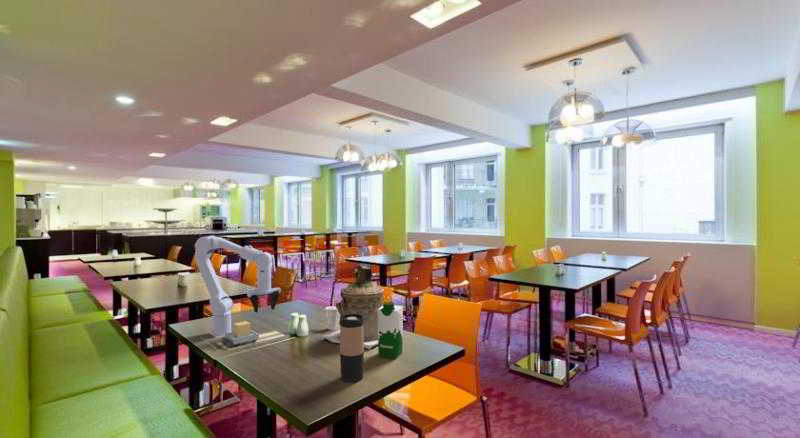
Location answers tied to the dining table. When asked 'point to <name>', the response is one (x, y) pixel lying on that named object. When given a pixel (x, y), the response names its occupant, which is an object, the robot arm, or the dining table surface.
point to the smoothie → (332, 316)
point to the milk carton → (390, 330)
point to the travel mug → (351, 347)
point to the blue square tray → (236, 341)
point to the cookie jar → (361, 305)
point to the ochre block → (241, 329)
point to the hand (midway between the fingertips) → (264, 310)
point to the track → (262, 338)
